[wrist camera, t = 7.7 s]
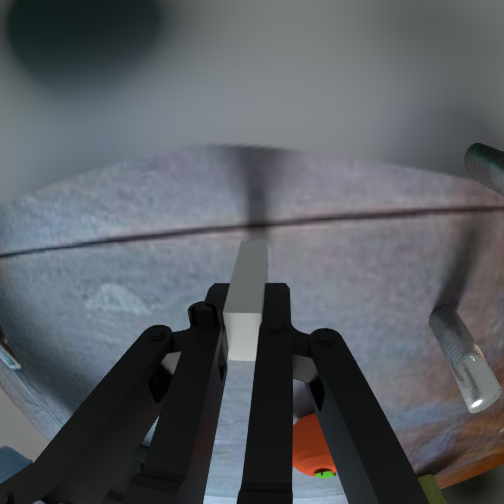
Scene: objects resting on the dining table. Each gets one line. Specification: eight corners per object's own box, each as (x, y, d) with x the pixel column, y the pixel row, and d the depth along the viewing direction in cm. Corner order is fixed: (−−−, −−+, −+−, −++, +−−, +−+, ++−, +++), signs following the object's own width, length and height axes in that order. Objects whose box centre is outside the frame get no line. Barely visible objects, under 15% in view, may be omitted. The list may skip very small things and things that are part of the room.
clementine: (361, 424, 29) (369, 478, 22) (305, 440, 31) (306, 492, 24) (339, 390, 26) (347, 455, 20) (273, 410, 28) (270, 471, 22)
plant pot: (403, 477, 38) (410, 516, 31) (448, 465, 37) (456, 501, 29) (391, 491, 42) (395, 526, 35) (432, 481, 41) (438, 513, 34)
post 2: (425, 330, 22) (462, 416, 14) (433, 305, 21) (480, 392, 13) (449, 327, 22) (490, 408, 14) (458, 303, 21) (507, 383, 13)
